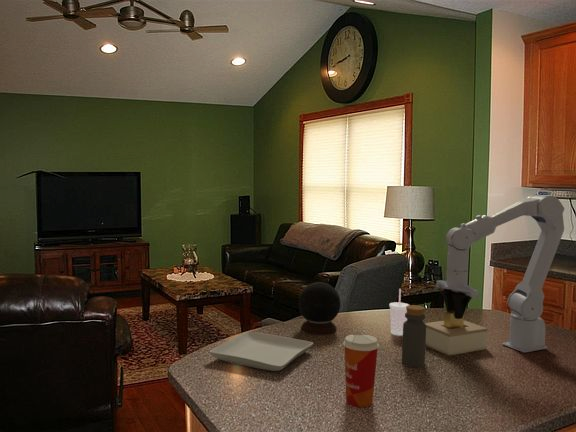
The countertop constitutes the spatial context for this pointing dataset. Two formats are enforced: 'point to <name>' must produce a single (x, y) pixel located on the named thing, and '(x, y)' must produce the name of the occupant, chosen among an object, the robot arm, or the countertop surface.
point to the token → (452, 320)
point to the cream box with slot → (456, 338)
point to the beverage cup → (397, 316)
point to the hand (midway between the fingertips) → (455, 316)
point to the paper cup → (360, 369)
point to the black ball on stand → (319, 308)
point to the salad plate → (261, 350)
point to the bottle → (414, 337)
